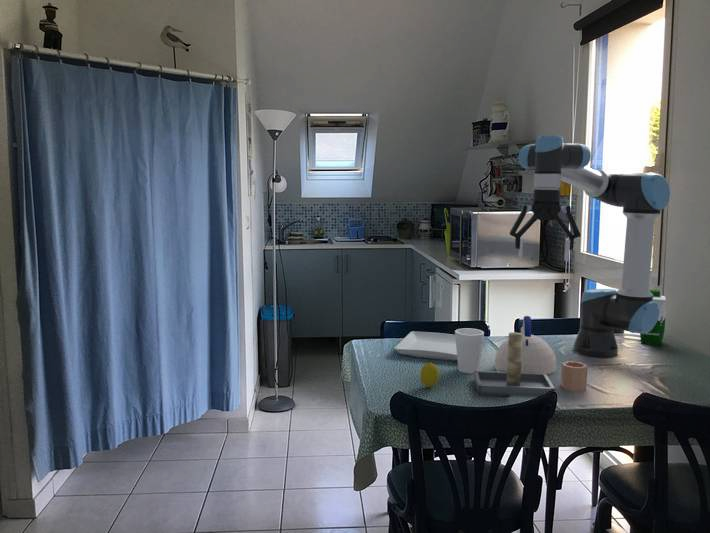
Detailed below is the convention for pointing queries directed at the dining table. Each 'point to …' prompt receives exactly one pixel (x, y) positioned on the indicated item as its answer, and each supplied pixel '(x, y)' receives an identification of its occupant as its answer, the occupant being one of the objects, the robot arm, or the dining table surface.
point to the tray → (496, 386)
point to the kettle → (529, 353)
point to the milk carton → (658, 330)
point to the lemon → (429, 374)
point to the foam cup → (468, 349)
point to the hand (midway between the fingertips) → (543, 260)
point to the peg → (514, 359)
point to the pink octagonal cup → (574, 376)
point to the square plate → (429, 345)
